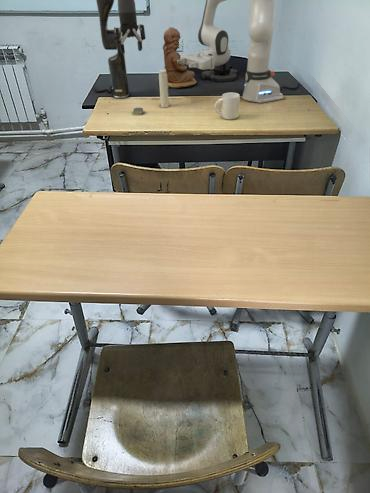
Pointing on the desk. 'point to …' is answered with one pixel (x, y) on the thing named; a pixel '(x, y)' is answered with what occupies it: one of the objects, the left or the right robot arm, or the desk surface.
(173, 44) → the sculpture
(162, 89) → the beige tapered cylinder
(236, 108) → the mug
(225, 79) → the abstract sculpture
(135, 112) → the lid
